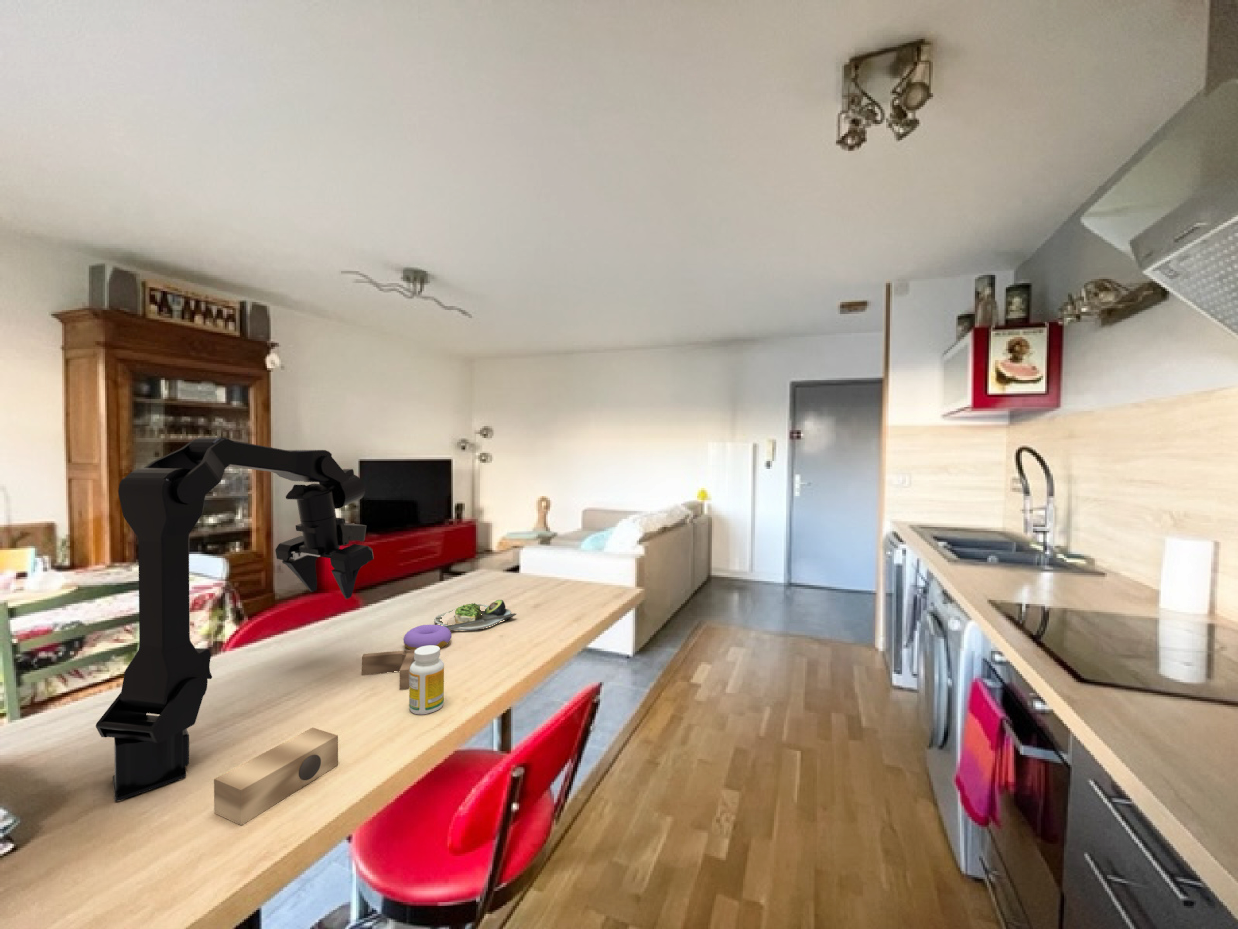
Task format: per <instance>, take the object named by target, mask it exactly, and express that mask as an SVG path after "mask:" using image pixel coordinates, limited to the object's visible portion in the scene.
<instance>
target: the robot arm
mask: <svg viewBox="0 0 1238 929" xmlns="http://www.w3.org/2000/svg"><path fill="white" fill-rule="evenodd" d="M332 455H333V454H332V453H331V452H330V451H329V450H326V449H281V448H277V447H270V446H264V445H259V444H254V443H247V442H244V441H243V442H242V441H236V440H232V439H229V438H227V437H224V436H223V437H219V436H217V437H208V436H207V437H197V438H195V439H193V440H189V441H188V442H187V443H186V444H185V445H184V446H182V447H181V448H179V449H176V450H174V451H172V452H170V453H169V454H166V455H164V456H161V457H159V458H157V459H155V460H153V461H151V462H150V463H148V464H147V465H146V466H144V467H142V468H137V469H135V470H133V471H131V472H129V473H128V474H127V475H126V476H125V477H123V478H122V479H121V481H120V482H119V484H118V490H117V492H118V498H119V503H120V507H121V511H122V517H123V518H124V520H125V521H126V523H127V524H128V526H129V527H130V528H131V529H132V531H133V532H134V534H135V535H136V537H137V541H138V542H137V543H138V544H137V545H138V546H137V547H138V548H137V549H138V550H137V551H138V620H139V621H138V622H139V623H138V624H139V625H138V628H139V629H138V630H139V631H138V632H139V634H138V637H139V641H138V644H139V646H138V650H137V652H136V653H135V654H134V656H133V657H132V659H131V661H130V662H129V664H128V665H127V667H126V668H125V670H124V674H123V680H122V685H121V692H120V693H119V694H118V695H117V697H116V698H115V700H114V701H113V702H112V703H111V704H110V706H109V707H108V708H107V710H105V711H104V713H103V715H102V716H101V717H100V718H99V719H98V720H97V722H96V724H95V728H96V730H97V732H98V734H99V736H100V737H101V738H114V740H113V741H114V746H113V748H114V750H113V752H114V754H113V755H114V757H113V758H114V775H113V776H112V787H113V795H114V801H115V802H119V801H122V800H126V799H128V798H131V797H133V796H137V795H139V794H142V793H145V792H148V791H150V790H154V789H157V788H159V787H162V786H165V785H168V784H171V783H174V782H176V781H179V780H181V779H184V778H185V777H187V770H186V767H188V765H190V735H189V731H188V728H191V727H192V726H194V725H195V724H196V722H197V718H198V715H199V712H200V708H201V706H202V702H203V698H204V696H205V695H206V692H207V689H208V680H211V679H212V678H213V676H212V673H211V670H210V669H211V668H210V666H211V657H212V654H211V651H210V649H209V648H201V647H200V648H198V647H195V645H194V644H193V643H192V641H191V636H190V634H191V631H190V630H191V624H190V620H191V619H190V618H191V617H190V616H191V615H190V614H191V612H190V606H191V605H190V534H191V532H192V531H193V530H194V527H195V526H196V524H197V523H198V521H199V520H200V518H201V517H202V516H203V513H204V507H205V500H206V495H207V494H208V493H209V492H210V491H212V490H213V489H214V488H215V487H216V486H218V485H219V484H220V483H221V481H222V479H223V476H224V473H225V470H226V468H228V467H231V468H238V469H246V470H256V471H264V472H270V473H274V474H276V475H277V476H278V477H280V478H281V479H282V478H283V479H286V480H289V481H292V482H303V483H311V484H307V485H305V484H294V485H293V486H292V488H291V490H290V491H288V493H286V495H285V499H286V500H296V504H297V505H296V506H297V511H298V516H299V520H300V521H299V522H300V523H299V524H296V525H295V531H296V532H302V535H298V536H297V537H293V538H291V539H288V540H286V541H283V542H280V543H278V544H277V546H276V548H275V556H276V557H275V558H276V559H277V560H279V561H281V562H282V564H284V565H285V566H286V567H287V568H288V569H289V570H290V571H291V572H293V574H294V575H295V576H296V577H297V578H298V579H299V581H301V583H302V584H303V585H304V586H305V587H306V588H307V589H308V591H310V592H312V593H313V592H315V591H316V590H317V588H318V579H317V568H316V561H317V559H318V558H319V557H320V558H326V559H329V560H330V561H329V562H330V566H332V568H333V569H331V573H332V575H333V578H334V579H335V582H336V583H337V585H338V587H339V590H340V592H341V594H342V595H343V597H344V599H345V600H348V599H350V598H352V597H353V592H354V588H355V584H356V580H357V576H358V574H359V571H360V569H362V567H364V566H365V565H367V564H368V563H369V562H371V561H374V552H373V548H371V546H368V545H363V544H357V543H352V544H351V545H349V544H350V541H359V542H365V538H366V532H367V525H365V524H359V523H349V522H346V519H345V518H344V517H337V512H336V510H338V509H341V508H343V507H346V506H348V505H351V504H352V503H354V502H357V501H359V500H361V499H363V497H364V496H365V494H366V484H364V482H363V480H362V479H361V478H360V477H359V476H358V475H356V474H355V472H354V469H353V468H342V466H340V465H339V464H338V462H337V461H336V460H335V459H334V457H333V456H332ZM346 545H348V546H346ZM341 546H342V547H343V546H346V547H344V548H341Z"/></svg>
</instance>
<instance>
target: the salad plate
mask: <svg viewBox="0 0 1238 929" xmlns="http://www.w3.org/2000/svg"><path fill="white" fill-rule="evenodd" d="M480 606H484V607H487V608H486V609H485V611H481V610H480ZM455 609H456V610H455ZM453 610H455V617H454V621H455V623H454V624H452V625H448V624H449V623H447V624H443V622H442V621H440V619H442V617H441V616H444V615H445V614H446V613H450V612H452V611H453ZM481 614H482V615H481ZM516 615H517V613H512V611H511V610H510V609H508V608H506V604H505V602H504V600H503V599H497V600H495V601H493V602H491V603H490V604H489V605H488V604H482V603H476V602H474V603H467V604H463V605H461V606H458V607H457V608H454V609H452V610H448V611H446V612H443V613H441V614H438V615H436V616H435V618H434V620H433V622H434V624H436V623H437V624H440V625H443V626H444V627H446V628H448V629H449V630H450V631H453V630H475V631H478V630H477V629H483V628H486V627H489V626H492V625H494V624H496V623H499V622H500V621H503V620H506V619H508V620H510V619H511V618H513V617H515V616H516ZM506 621H507V620H506ZM437 624H436V625H437ZM492 627H493V626H492ZM483 630H484V629H483Z"/></svg>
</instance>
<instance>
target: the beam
mask: <svg viewBox="0 0 1238 929" xmlns="http://www.w3.org/2000/svg"><path fill="white" fill-rule="evenodd" d="M337 766H339V735H338V734H335V733H331V732H328V731H325V730H322V729H319V728H315V727H310V728H309V729H307V730H305V731H303V732H300V733H299V734H297V735H295V736H294V737H293V736H292V737H291V738H290V739H288V740H285V741H284V742H282V743H280V744H278V745H276V746H274V747H272V748H270V749H269V750H266V751H265V752H262V753H261V754H259V755H257V756H255V757H253V758H251V759H249V760H248V761H245V762H244V763H241V764H240V765H237V766H236V767H234V768H232V769H230V770H228V771H227V772H225V773H222V774H221V775H218V776H217V777H215V778H214V779H213V798H214V799H213V812H214V814H216V815H218V816H220V817H222V818H225V819H227V820H229V821H230V822H233V823H235V824H237V825H239V826H243V825H245V824H246V823H248V822H249V821H250V820H252V819H254V818H256V817H257V816H259V815H261V814H262V813H264V812H265V811H267V810H269V809H270V808H272V807H273V806H275V805H276V804H278V803H279V802H281V801H283V800H285V799H286V798H288V797H289V796H291V795H292V794H294V793H296V792H297V791H299V790H301V789H302V788H304V787H305V786H307V785H308V784H310V783H312V782H313V781H314V780H317V779H319V778H320V777H321V776H323V775H325V774H326V773H328V772H329V771H331V770H333V769H334V768H336V767H337Z"/></svg>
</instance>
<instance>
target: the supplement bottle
mask: <svg viewBox="0 0 1238 929" xmlns="http://www.w3.org/2000/svg"><path fill="white" fill-rule="evenodd" d="M440 657H441V648H439V647H438V646H435V645H428V646H422V647H419V648H417V649H416V650H415V651H414V660H415V662H413V663H412V664H411V666H410V673H409V689H408V691H409V692H408V693H409V694H408V699H409V700H408V706H409V708H408V709H409V711H410V712H411V713H412V714H415V715H428V714H431V713H435V712H437V711H438V710H440V709H442V707H443V705H444V701H445V700H444V699H445V698H444V695H445V663H444V661H443V660H442V659H441V658H440Z"/></svg>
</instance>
